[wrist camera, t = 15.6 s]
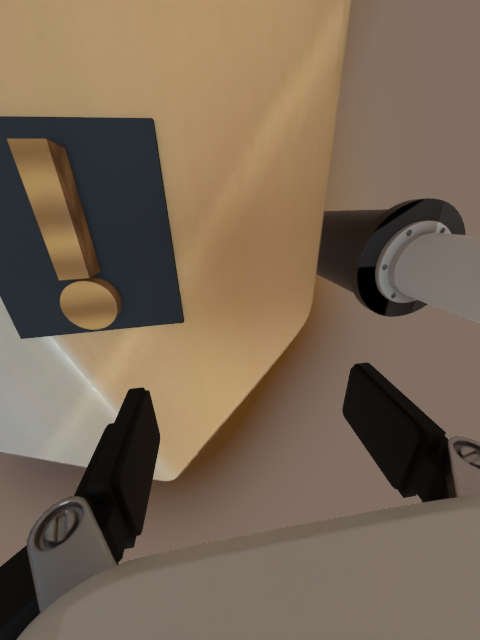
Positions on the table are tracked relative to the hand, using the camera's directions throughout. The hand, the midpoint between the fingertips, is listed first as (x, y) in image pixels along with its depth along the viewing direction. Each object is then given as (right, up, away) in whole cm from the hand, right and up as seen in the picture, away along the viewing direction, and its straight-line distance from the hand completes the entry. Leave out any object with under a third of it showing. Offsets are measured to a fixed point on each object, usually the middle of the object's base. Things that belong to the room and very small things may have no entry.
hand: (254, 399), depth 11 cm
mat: (-19, +13, +16) cm, 28 cm away
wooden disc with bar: (-19, +12, +15) cm, 27 cm away
